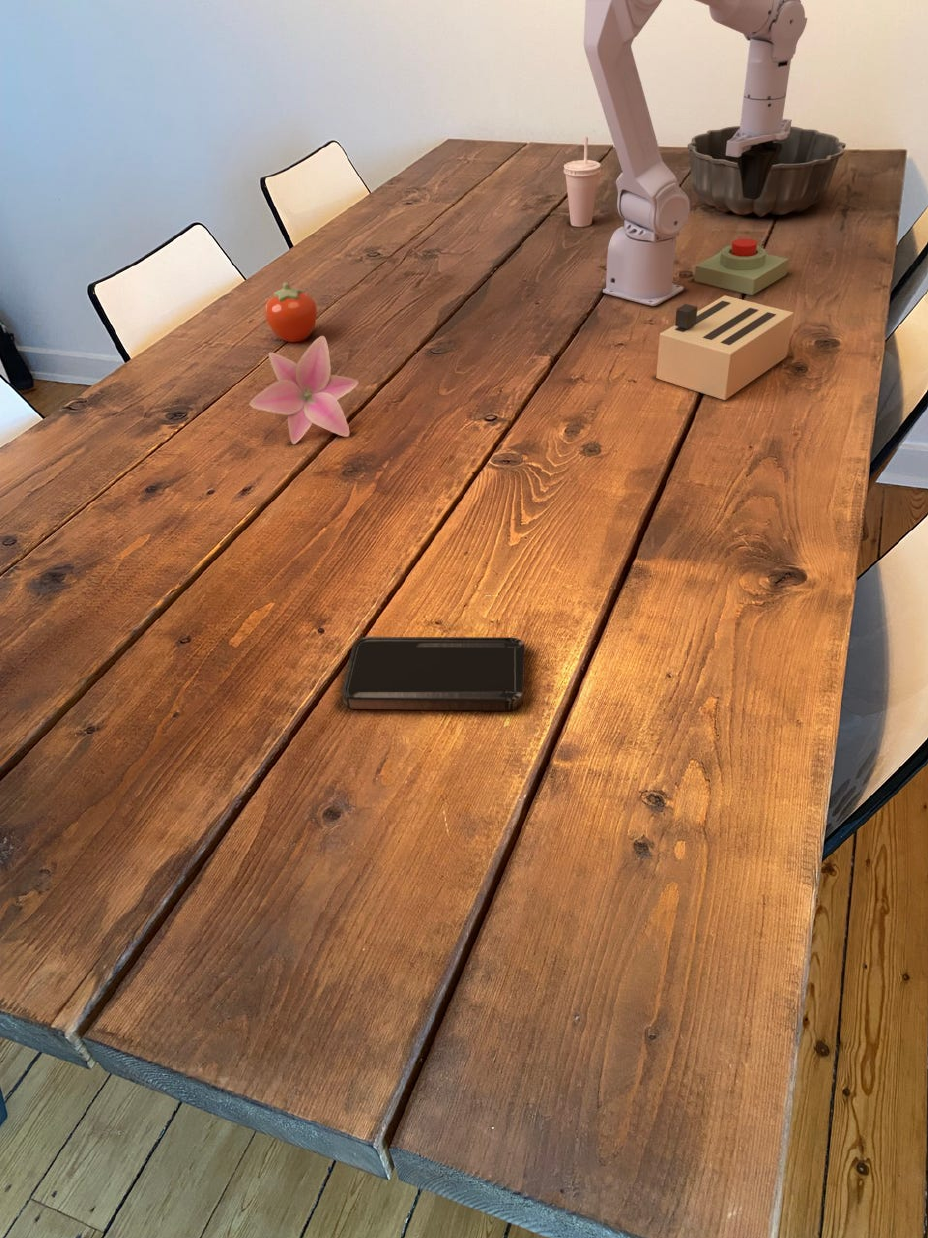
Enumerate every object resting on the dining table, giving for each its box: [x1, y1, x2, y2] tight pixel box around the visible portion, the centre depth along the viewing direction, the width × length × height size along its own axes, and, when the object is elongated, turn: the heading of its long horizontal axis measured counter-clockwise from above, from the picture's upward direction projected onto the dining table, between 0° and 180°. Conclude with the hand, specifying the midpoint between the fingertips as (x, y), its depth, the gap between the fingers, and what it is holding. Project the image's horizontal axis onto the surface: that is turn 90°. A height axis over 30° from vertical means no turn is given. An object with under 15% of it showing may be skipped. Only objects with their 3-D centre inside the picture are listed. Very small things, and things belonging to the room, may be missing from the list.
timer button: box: [731, 237, 758, 257], centre depth 142 cm, size 4×4×2 cm
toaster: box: [656, 294, 795, 401], centre depth 120 cm, size 10×15×6 cm, turn 137°
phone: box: [341, 636, 525, 711], centre depth 80 cm, size 8×1×15 cm
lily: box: [249, 335, 360, 445], centre depth 114 cm, size 12×12×10 cm
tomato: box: [264, 281, 318, 343], centre depth 135 cm, size 7×7×8 cm
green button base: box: [693, 244, 790, 296], centre depth 143 cm, size 10×10×4 cm
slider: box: [674, 303, 699, 329], centre depth 117 cm, size 2×2×2 cm
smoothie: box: [563, 136, 602, 228], centre depth 164 cm, size 6×6×14 cm
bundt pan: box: [687, 125, 847, 218], centre depth 168 cm, size 26×26×10 cm
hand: (751, 197), depth 141 cm, fingers closed
